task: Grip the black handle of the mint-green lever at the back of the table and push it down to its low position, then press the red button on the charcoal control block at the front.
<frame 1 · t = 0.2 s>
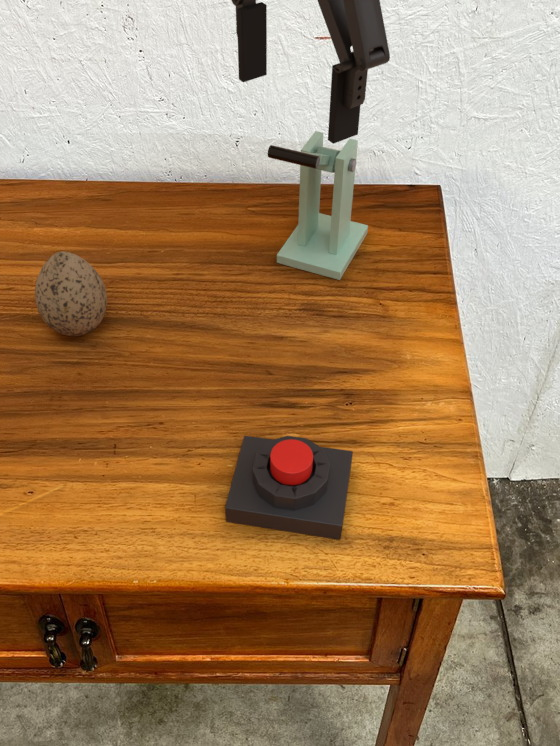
hand: (295, 106, 70), 23 cm above the table, tool pointing down, fingers open, 13 cm apart
control block: (290, 493, 69), on the table
lever: (313, 158, 80), point 15 cm above the table, hinge at 30.0°
decorative egg: (79, 329, 84), on the table
button: (291, 462, 66), point 5 cm above the table, slide at 0.2 cm
bracket: (323, 247, 94), on the table
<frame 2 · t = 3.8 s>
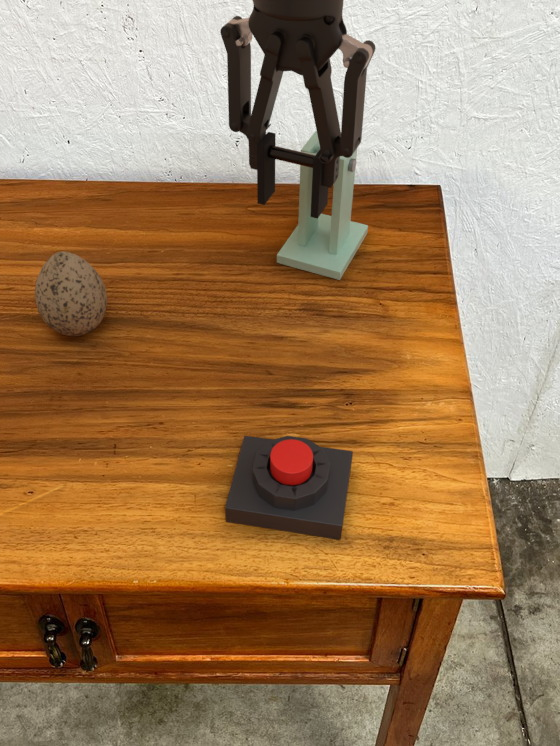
hand: (292, 203, 78), 13 cm above the table, tool pointing down, fingers closed on lever, 5 cm apart
lever: (313, 158, 80), point 15 cm above the table, hinge at 30.0°, touching gripper
everything else where it was.
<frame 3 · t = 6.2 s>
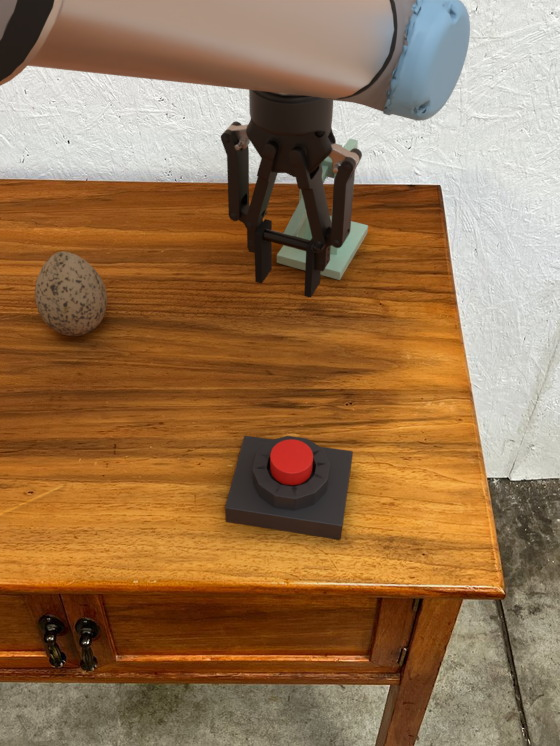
hand: (287, 282, 84), 3 cm above the table, tool pointing down, fingers closed on lever, 5 cm apart
lever: (309, 195, 83), point 11 cm above the table, hinge at -14.3°, touching gripper
everything else where it was.
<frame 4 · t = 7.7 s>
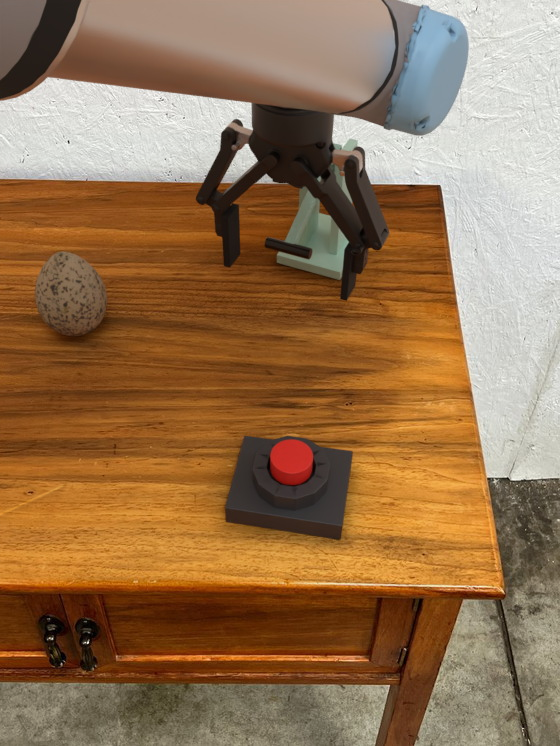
hand: (288, 276, 84), 4 cm above the table, tool pointing down, fingers open, 13 cm apart
lever: (310, 199, 83), point 10 cm above the table, hinge at -20.8°
everything else where it was.
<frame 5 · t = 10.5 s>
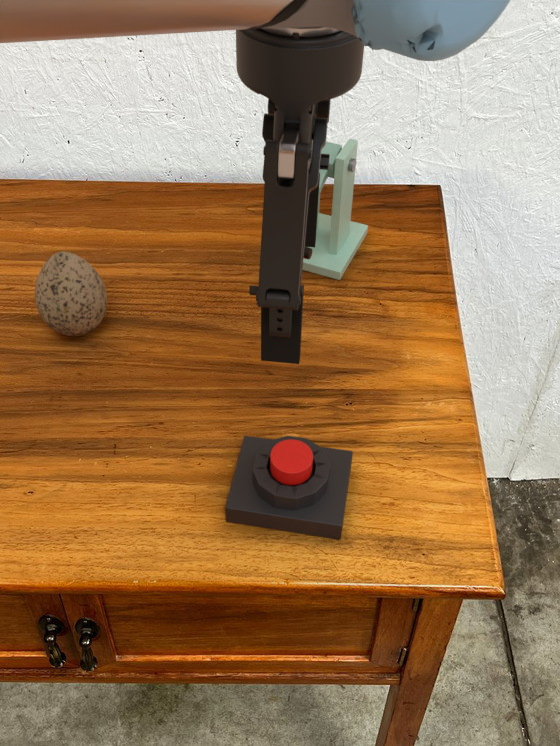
hand: (290, 297, 59), 19 cm above the table, tool pointing down, fingers open, 13 cm apart
nothing on the table moved.
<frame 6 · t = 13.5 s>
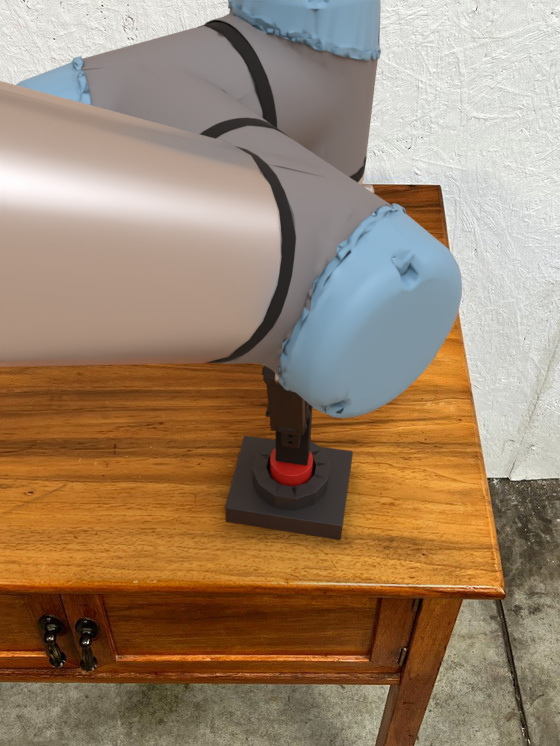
hand: (292, 456, 65), 5 cm above the table, tool pointing down, fingers closed
button: (291, 464, 66), point 4 cm above the table, slide at -0.2 cm, touching gripper
everything else where it was.
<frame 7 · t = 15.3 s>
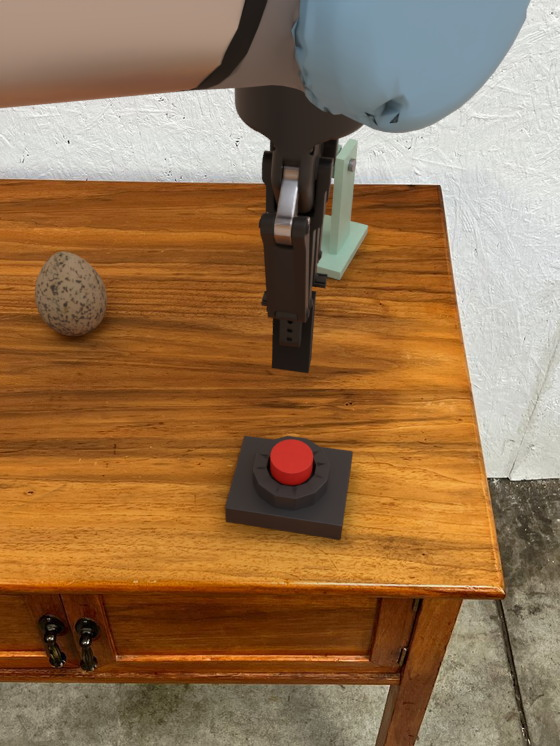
hand: (291, 363, 57), 17 cm above the table, tool pointing down, fingers closed
button: (291, 462, 66), point 5 cm above the table, slide at 0.2 cm
everything else where it was.
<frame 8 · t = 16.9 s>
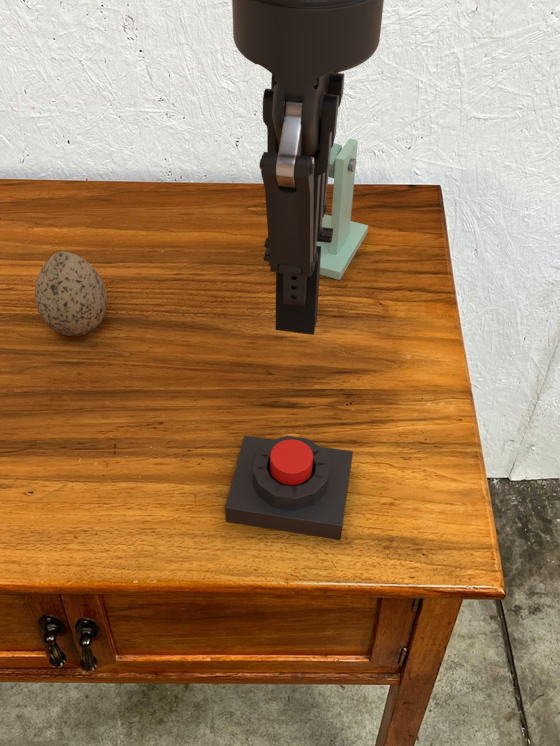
hand: (296, 325, 54), 20 cm above the table, tool pointing down, fingers closed
nothing on the table moved.
at the end: lever at -21° (first picture: +30°); button pushed in 1.3 cm at the most during the clip, back to 0.2 cm at the end; button slide at 0.2 cm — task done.
